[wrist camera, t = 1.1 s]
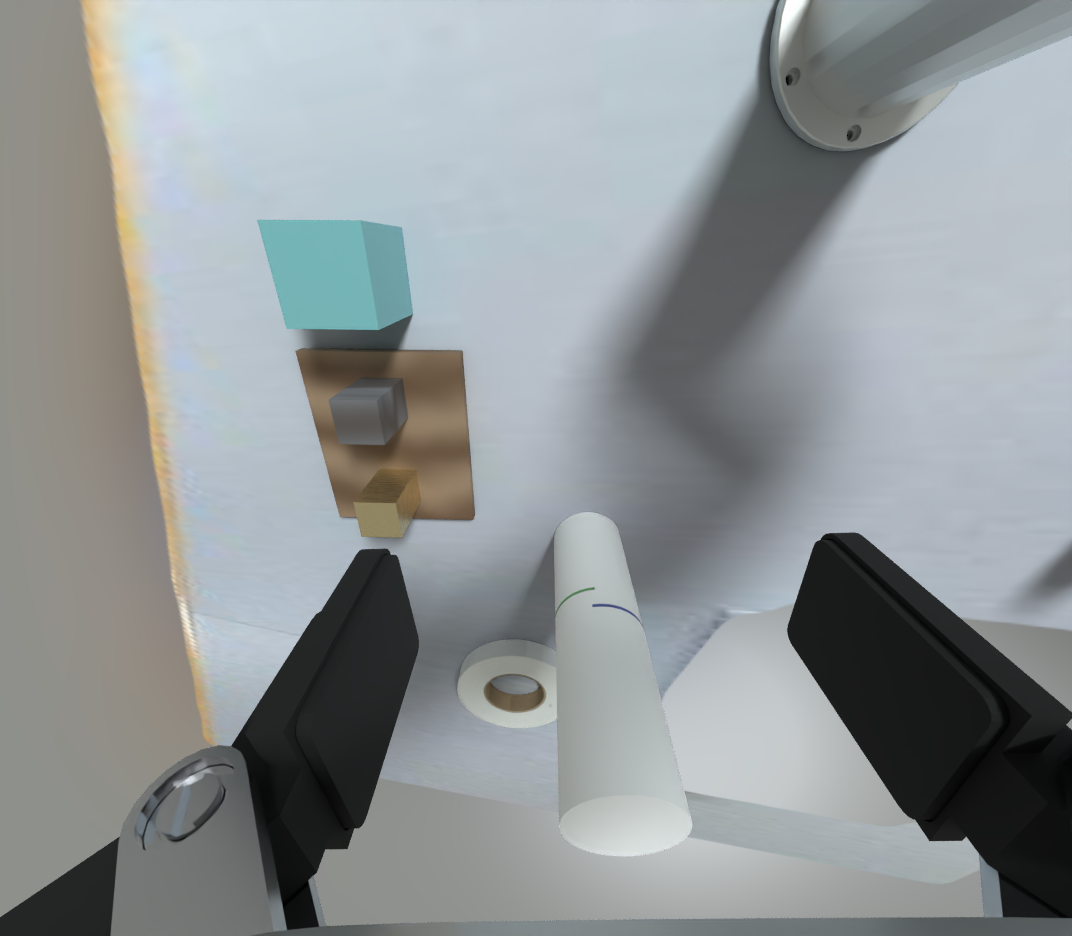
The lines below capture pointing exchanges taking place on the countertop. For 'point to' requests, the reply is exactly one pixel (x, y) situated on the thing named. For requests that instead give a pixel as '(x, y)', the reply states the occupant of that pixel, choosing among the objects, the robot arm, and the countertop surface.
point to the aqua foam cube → (338, 273)
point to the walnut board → (412, 438)
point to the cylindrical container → (609, 704)
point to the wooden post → (388, 503)
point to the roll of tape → (510, 661)
